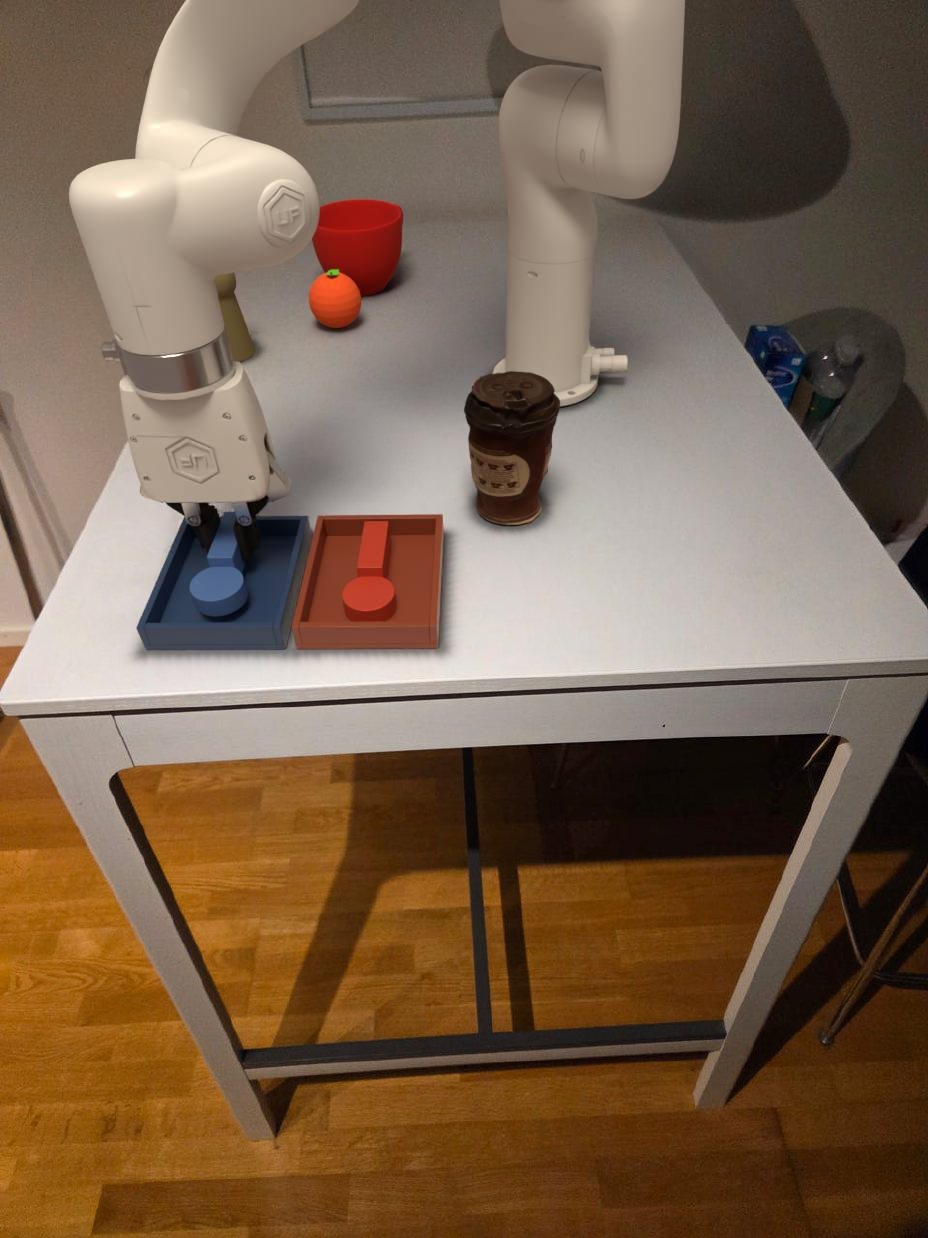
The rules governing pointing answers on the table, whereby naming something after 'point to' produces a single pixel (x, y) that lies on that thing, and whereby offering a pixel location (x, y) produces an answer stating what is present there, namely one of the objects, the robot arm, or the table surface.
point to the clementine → (334, 299)
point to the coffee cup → (510, 443)
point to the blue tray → (267, 582)
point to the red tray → (336, 566)
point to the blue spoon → (221, 574)
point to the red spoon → (371, 578)
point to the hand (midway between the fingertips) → (234, 551)
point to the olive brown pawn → (233, 318)
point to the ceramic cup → (360, 241)
